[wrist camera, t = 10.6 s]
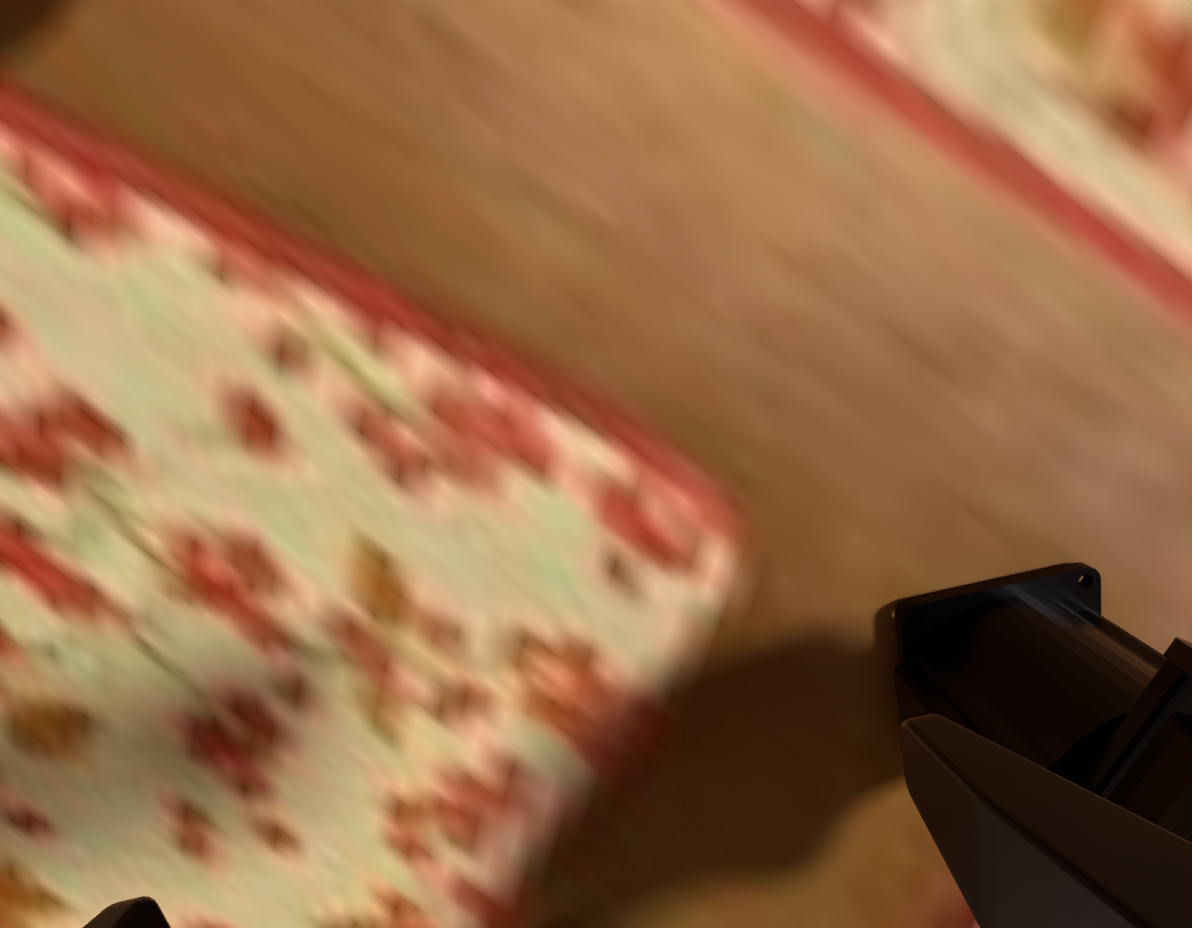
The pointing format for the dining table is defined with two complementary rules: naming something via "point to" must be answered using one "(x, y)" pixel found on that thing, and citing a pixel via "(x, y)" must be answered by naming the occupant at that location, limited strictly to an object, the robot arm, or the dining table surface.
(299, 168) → the dining table surface
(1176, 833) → the robot arm
